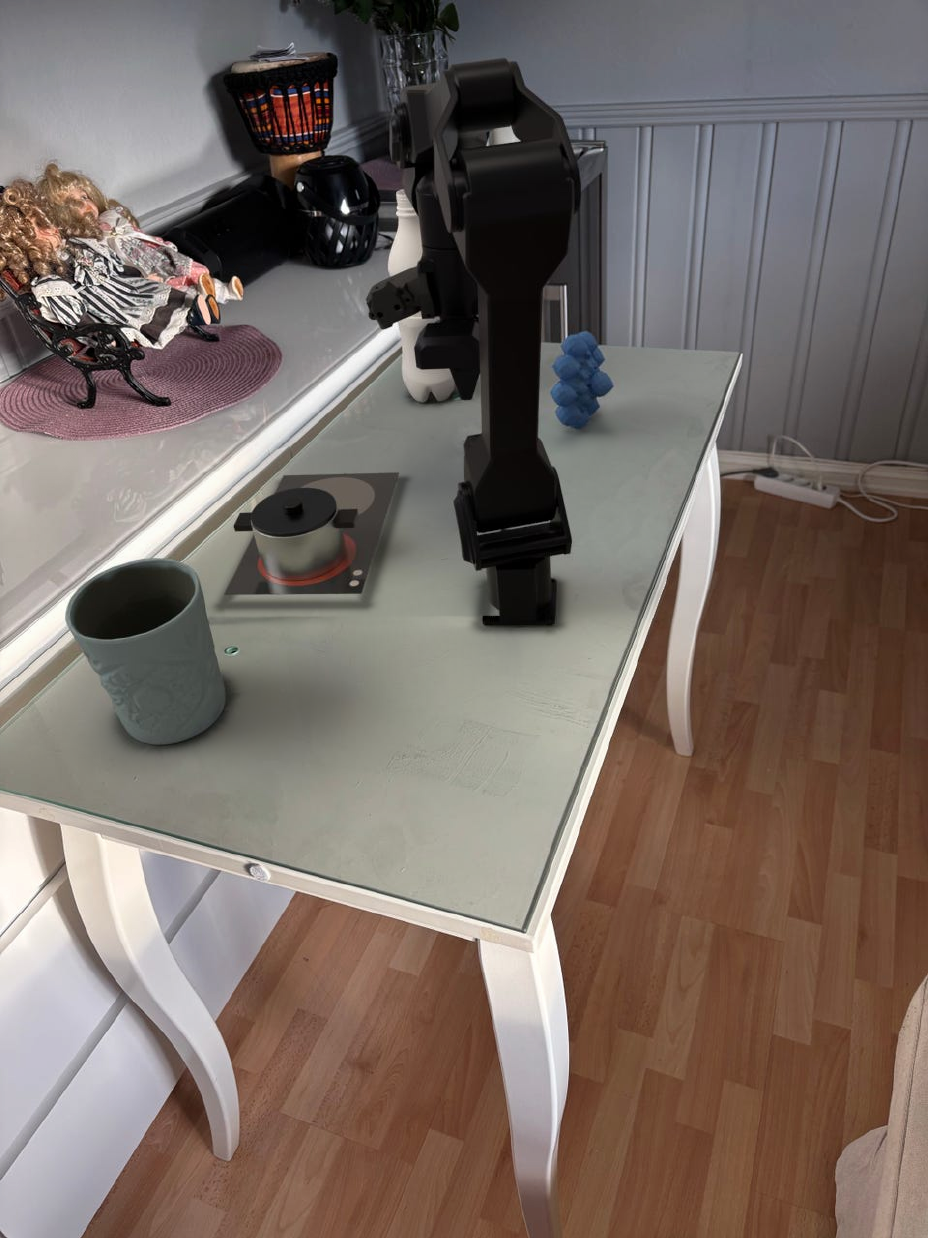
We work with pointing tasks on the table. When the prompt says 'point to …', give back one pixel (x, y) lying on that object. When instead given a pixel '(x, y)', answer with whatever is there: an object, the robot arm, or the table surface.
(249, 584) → the hob
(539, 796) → the table surface
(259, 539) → the pot
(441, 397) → the water bottle
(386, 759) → the table surface
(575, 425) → the grapes
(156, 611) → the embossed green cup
